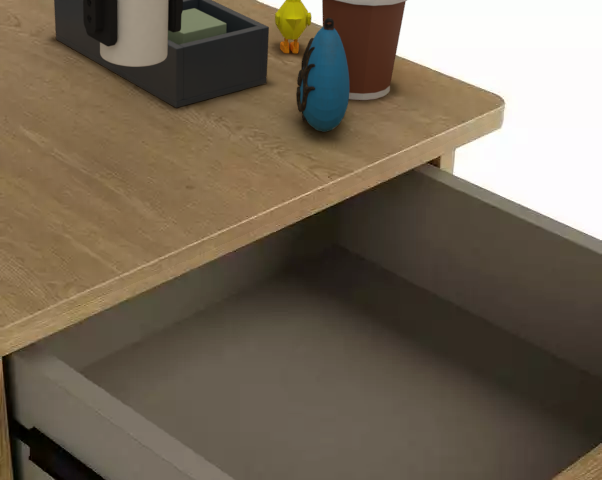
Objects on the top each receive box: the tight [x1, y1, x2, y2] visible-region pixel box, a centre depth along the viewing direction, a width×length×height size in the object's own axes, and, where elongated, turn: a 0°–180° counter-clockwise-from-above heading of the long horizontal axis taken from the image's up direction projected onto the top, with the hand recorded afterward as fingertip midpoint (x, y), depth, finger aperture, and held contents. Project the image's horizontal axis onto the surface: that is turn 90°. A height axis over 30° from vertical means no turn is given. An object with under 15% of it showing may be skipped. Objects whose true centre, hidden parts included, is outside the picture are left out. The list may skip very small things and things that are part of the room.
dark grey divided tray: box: [53, 0, 270, 108], centre depth 125 cm, size 11×20×6 cm, turn 41°
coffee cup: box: [321, 0, 408, 101], centre depth 120 cm, size 9×9×12 cm
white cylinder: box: [100, 0, 168, 67], centre depth 95 cm, size 5×5×7 cm
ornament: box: [295, 18, 350, 133], centre depth 113 cm, size 8×5×10 cm, turn 2°
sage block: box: [168, 8, 227, 45], centre depth 122 cm, size 5×5×5 cm
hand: (133, 30), depth 96 cm, fingers closed on white cylinder, 5 cm apart
